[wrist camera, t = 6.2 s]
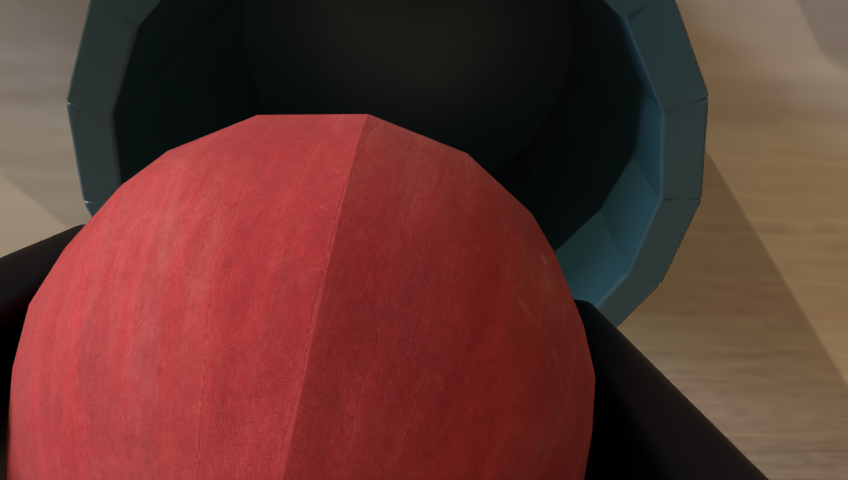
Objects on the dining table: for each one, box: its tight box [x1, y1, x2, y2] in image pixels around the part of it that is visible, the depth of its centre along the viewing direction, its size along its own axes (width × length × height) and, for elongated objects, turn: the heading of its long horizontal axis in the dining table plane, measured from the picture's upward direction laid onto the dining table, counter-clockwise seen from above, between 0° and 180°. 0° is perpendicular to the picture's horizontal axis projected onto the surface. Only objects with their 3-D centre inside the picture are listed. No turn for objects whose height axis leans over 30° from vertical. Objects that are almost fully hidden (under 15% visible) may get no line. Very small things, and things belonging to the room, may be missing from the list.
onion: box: [4, 114, 595, 480], centre depth 7 cm, size 6×6×8 cm
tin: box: [67, 0, 708, 328], centre depth 16 cm, size 12×12×10 cm
